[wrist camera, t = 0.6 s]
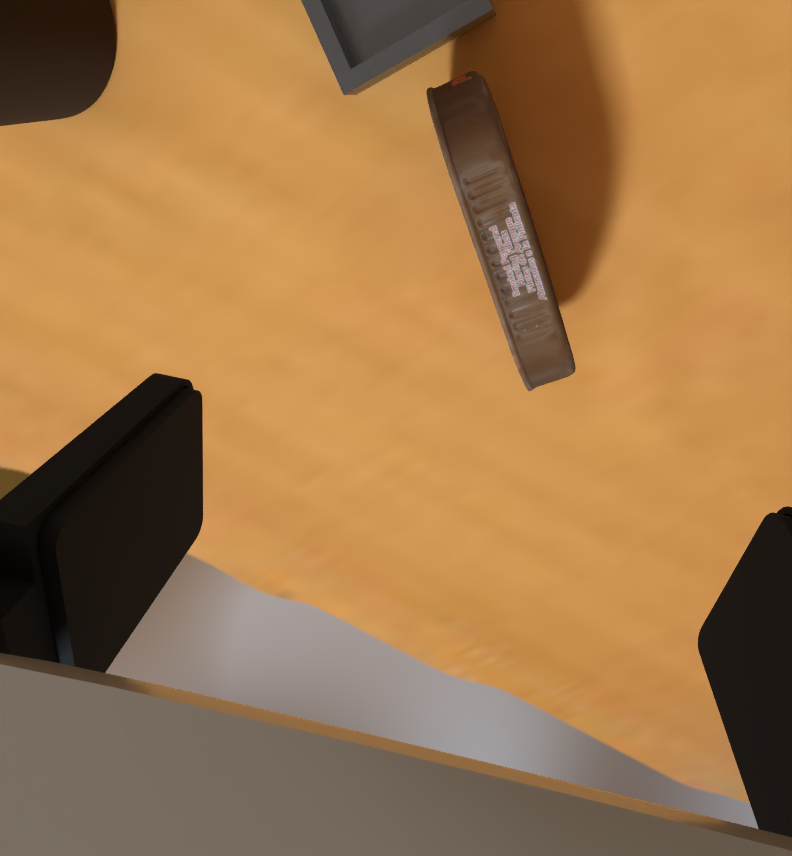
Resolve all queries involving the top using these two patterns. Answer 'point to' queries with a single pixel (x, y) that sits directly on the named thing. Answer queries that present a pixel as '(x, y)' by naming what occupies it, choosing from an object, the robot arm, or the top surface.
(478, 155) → the tin
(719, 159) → the top surface
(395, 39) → the tray
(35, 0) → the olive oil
